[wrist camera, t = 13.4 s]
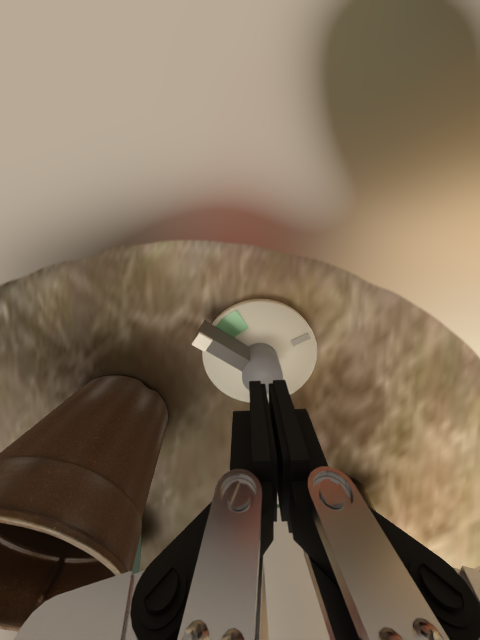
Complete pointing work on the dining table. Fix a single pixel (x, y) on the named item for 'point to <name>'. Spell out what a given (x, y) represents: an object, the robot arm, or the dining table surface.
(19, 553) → the plant pot
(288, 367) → the dial plate
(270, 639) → the cylindrical container
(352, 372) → the dining table surface
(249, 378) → the friction peg
